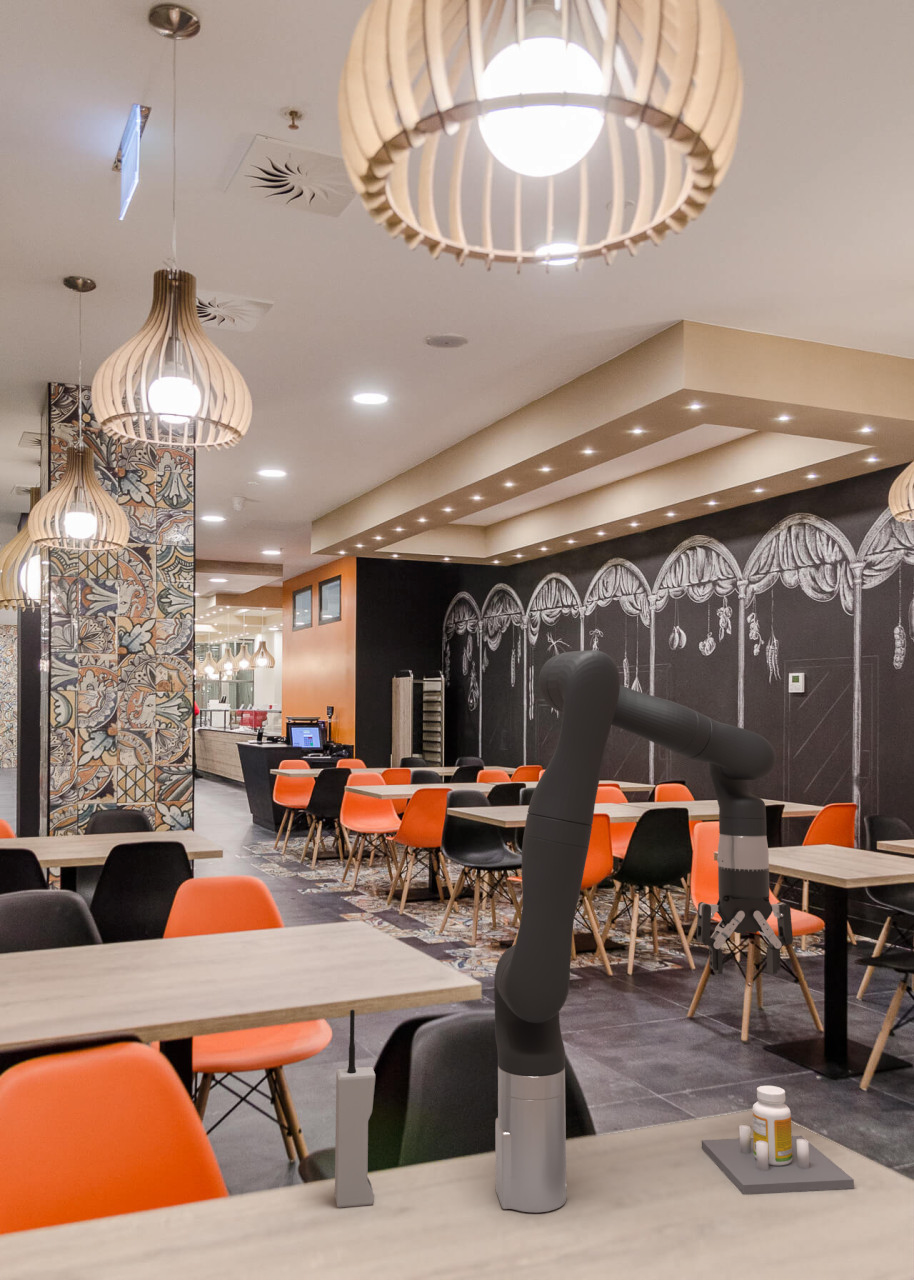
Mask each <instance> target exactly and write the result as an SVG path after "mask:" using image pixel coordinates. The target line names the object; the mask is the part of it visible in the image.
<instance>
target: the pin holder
mask: <svg viewBox="0 0 914 1280" xmlns="http://www.w3.org/2000/svg"><path fill="white" fill-rule="evenodd" d="M738 1129H739V1130H738V1131H739V1138H721V1139H701V1149H702V1150H703V1152H704V1153H705V1152H706V1153H705V1154H706V1155H707V1156H708V1157H709V1159H711V1160H712V1161H713V1162H714V1164H715V1165H716V1166H717V1167H718V1168H719V1170H721V1171H722V1173H723V1174H724V1175H725V1176H726V1177H727V1178H728V1179H729V1180H730V1182H732V1184H733V1185H735V1187H736V1188H737V1190H739V1191H740V1192H741V1194H742V1195H753V1194H754V1195H756V1194H757V1195H759V1194H776V1193H795V1192H796V1193H797V1192H814V1191H815V1192H816V1191H833V1190H834V1191H838V1190H852V1189H853V1190H854V1189H855V1183H854V1182H855V1181H854V1180H855V1179H854V1178H853V1177H852V1176H850V1175H849V1174H848V1173H847V1172H845V1170H843V1169H842V1168H840V1167H839V1166H838V1165H837V1164H836V1163H834V1162H833V1161H832V1160H831V1159H830V1158H829V1157H827V1156H826V1155H825V1154H824V1153H823V1152H821V1151H820V1150H819V1149H818V1148H817V1147H816V1146H815V1145H813V1144H812V1143H811V1142H810V1141H809V1140H807V1139H806V1138H805V1137H803V1136H802V1135H792V1161H791V1163H789V1164H787V1165H781V1166H775V1165H768V1143H767V1142H766V1141H756V1156H757V1159H756V1158H755V1157H754V1146H753V1137H752V1136H751V1134H752V1133H751V1132H752V1131H751V1126H749V1125H747V1124H739V1128H738Z"/></svg>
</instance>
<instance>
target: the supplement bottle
mask: <svg viewBox="0 0 914 1280" xmlns="http://www.w3.org/2000/svg"><path fill="white" fill-rule="evenodd" d="M756 1098H757V1100H758V1101H756V1102H755V1103H754V1104H753V1105H752V1138H753V1146H754V1157H755V1158H756V1159H757V1156H756V1141H766V1142H767V1143H768V1165H775V1166H781V1165H787V1164H789V1163H791V1161H792V1136H793V1135H792V1114H791V1109H790V1107H788V1105H787V1104H785V1102H786V1090H785V1089H783V1088H781V1087H779V1086H775V1085H760V1086H757V1088H756Z"/></svg>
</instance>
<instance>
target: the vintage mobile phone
mask: <svg viewBox="0 0 914 1280" xmlns="http://www.w3.org/2000/svg"><path fill="white" fill-rule="evenodd" d="M355 1013H356V1012H355V1010H354V1009H351V1010H350V1011H349V1044H348V1067H347V1068H338V1069H337V1070H336V1075H335V1076H336V1077H335V1078H336V1079H335V1080H336V1081H335V1083H336V1085H335V1087H336V1089H335V1090H336V1091H335V1142H334V1143H335V1145H334V1146H335V1151H334V1152H335V1155H334V1156H335V1157H334V1159H335V1160H334V1197H335V1203H336V1206H337V1208H339V1209H340V1208H350V1207H359V1206H360V1207H362V1206H372V1205H374V1203H375V1193H374V1189H373V1186H372V1183H371V1181H370V1179H369V1177H368V1164H369V1163H368V1158H369V1157H368V1155H369V1153H368V1152H369V1145H368V1144H369V1120H370V1118H371V1116H372V1113H373V1106H374V1095H375V1085H376V1075H377V1074H376V1073H375V1071H374V1070H375V1069H374V1067H373V1066H369V1067H368V1066H367V1067H365V1066H363V1067H356V1066H355V1065H356V1056H355V1055H356V1046H355V1021H356V1020H355V1019H356V1018H355Z"/></svg>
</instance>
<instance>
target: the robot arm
mask: <svg viewBox="0 0 914 1280" xmlns="http://www.w3.org/2000/svg"><path fill="white" fill-rule="evenodd" d="M538 688H539V691H540V694H541V696H542V699H543V700H544V701H545V703H546V704H547V705H548V706H549V707H550V708H552V709H553V710H555V711H556V712H559V713H561V714H562V718H561V725H560V731H559V736H558V741H557V743H556V747H555V750H554V753H553V755H552V757H551V759H550V761H549V763H548V764H547V766H546V768H545V770H544V771H543V773H542V775H541V776H540V779H539V780H538V783H537V784H536V786H535V788H534V790H533V793H532V795H531V798H530V802H529V804H528V808H527V814H526V819H525V824H524V832H523V835H522V836H523V837H522V847H521V884H522V885H521V888H522V890H521V891H522V905H521V917H520V922H519V927H518V931H517V938H516V941H515V944H514V945H512V946H510V947H508V948H507V949H506V950H505V951H504V952H503V953H502V955H500V958H499V959H498V961H497V964H496V966H495V971H494V982H493V983H494V984H493V985H494V987H493V988H494V989H493V991H494V996H493V998H494V1033H495V1043H496V1050H497V1089H498V1090H497V1109H498V1110H497V1114H498V1115H497V1117H496V1118H495V1125H494V1126H495V1128H494V1130H495V1132H494V1133H495V1134H494V1135H495V1139H494V1140H495V1143H494V1144H495V1147H494V1149H495V1192H496V1195H497V1198H498V1201H499V1203H500V1205H501V1208H502V1209H503V1210H507V1209H509V1210H510V1209H511V1210H514V1211H518V1212H523V1213H546V1212H550V1211H555V1210H557V1209H559V1208H561V1207H562V1206H564V1205H565V1203H566V1202H567V1183H568V1181H567V1139H566V1137H567V1136H566V1135H567V1132H566V1131H567V1130H566V1128H567V1126H566V1052H565V1051H566V1049H565V1046H564V1040H563V1037H562V1031H561V1025H560V1024H561V1022H560V1011H561V1010H562V1008H563V1007H564V1005H565V1003H566V1001H567V998H568V996H569V990H570V982H571V981H570V977H571V962H572V960H571V959H572V957H571V956H572V948H573V947H572V945H573V931H574V924H575V918H576V912H577V911H576V910H577V906H578V903H579V897H580V893H581V889H582V884H583V883H582V882H583V878H584V872H585V867H586V862H587V857H588V853H589V846H590V841H591V835H592V828H593V826H592V825H593V824H594V823H593V822H594V815H595V814H594V813H595V808H596V807H595V806H596V801H597V794H598V789H599V783H600V778H601V771H602V767H603V766H602V765H603V761H604V755H605V750H606V746H607V742H608V738H609V735H610V731H611V729H612V728H611V727H612V726H614V727H616V728H619V729H622V730H625V731H627V732H629V733H631V734H634V735H636V736H638V737H641V738H643V739H645V740H646V741H649V742H651V743H653V744H656V745H658V746H660V747H663V748H664V749H667V750H670V751H671V752H673V753H675V754H679V755H680V756H683V757H685V758H687V759H690V760H693V761H696V762H702V763H707V765H708V770H709V774H710V775H709V776H710V779H711V783H712V786H713V791H714V794H715V798H716V801H717V805H718V827H719V830H718V833H719V836H718V845H717V859H716V860H717V869H718V870H717V875H718V876H717V877H718V878H717V879H718V882H717V883H718V885H717V886H718V887H717V888H718V901H717V903H716V904H714V903H713V904H712V903H706V902H704V901H700V902H698V904H697V922H696V923H697V924H696V940H697V941H698V942H699V943H701V944H703V945H705V946H708V955H709V959H708V960H709V967H710V969H711V970H713V973H715V974H716V975H723V972H724V971H723V969H724V968H723V949H722V946H723V945H724V943H725V942H726V940H727V939H728V938H730V937H731V935H732V934H733V933H736V934H744V933H750V934H757V932H758V933H759V934H760V935H761V936H762V937H763V939H764V940H765V942H766V943H767V944H768V946H766V971H767V972H768V973H769V974H771V975H777V974H778V971H780V969H781V948H782V947H783V946H786V945H791V944H792V943H793V942H794V938H793V925H792V924H793V923H792V911H791V906H790V905H789V904H787V903H785V902H781V901H779V902H777V903H771V902H770V869H769V868H770V865H769V863H770V860H769V854H770V853H769V847H768V845H769V844H768V839H767V837H768V836H767V810H766V809H767V808H766V803H765V801H764V800H763V799H761V798H760V797H758V796H756V795H754V794H752V793H751V791H750V790H751V789H750V787H749V785H748V784H749V783H748V781H756V780H757V781H758V780H762V779H765V778H766V777H767V776H769V775H770V774H771V773H772V771H774V768H775V766H776V762H777V761H776V760H777V757H776V756H777V755H776V751H775V749H774V747H773V746H772V744H771V742H770V741H769V740H767V738H765V737H764V736H762V735H761V734H759V733H756V732H754V731H752V730H748V729H746V728H743V727H739V726H736V725H732V724H728V723H724V722H721V721H717V720H716V719H714V718H711V717H709V716H707V715H705V714H703V713H700V712H699V711H697V710H694V709H693V708H690V707H688V706H685V705H683V704H681V703H678V702H676V701H672V700H668V699H666V698H663V697H658V696H654V695H651V694H648V693H645V692H641V691H638V690H635V689H632V688H630V687H627V686H625V685H622V684H621V677H620V671H619V669H618V666H617V664H616V662H615V660H614V659H613V658H612V657H611V656H610V655H609V654H607V653H605V652H604V651H601V650H591V649H590V650H588V649H587V650H574V651H565V652H562V653H559V654H555V655H553V656H552V657H551V658H548V660H547V661H546V662H545V663H544V664H543V666H542V667H541V670H540V672H539V675H538ZM716 913H717V914H718V915H719V917H720V918H721V919H720V921H719V923H717V925H716V926H715V928H714V931H713V933H712V934H711V922H712V921H711V919H713V918H714V917H715V914H716ZM772 913H773V916H774V917H775V918H776V919H777V921H776V922H777V932H778V934H777V935H776V934H775V931H774V929H773V928H772V927H771V926H770V924H769V923H768V922H767V921H768V920H769V918H770V916H771V914H772Z"/></svg>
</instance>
